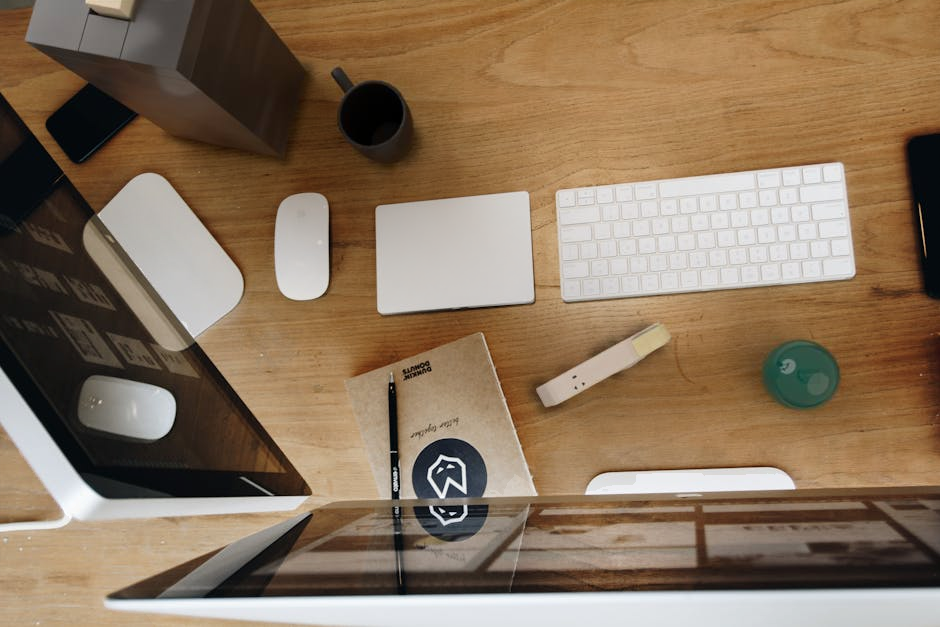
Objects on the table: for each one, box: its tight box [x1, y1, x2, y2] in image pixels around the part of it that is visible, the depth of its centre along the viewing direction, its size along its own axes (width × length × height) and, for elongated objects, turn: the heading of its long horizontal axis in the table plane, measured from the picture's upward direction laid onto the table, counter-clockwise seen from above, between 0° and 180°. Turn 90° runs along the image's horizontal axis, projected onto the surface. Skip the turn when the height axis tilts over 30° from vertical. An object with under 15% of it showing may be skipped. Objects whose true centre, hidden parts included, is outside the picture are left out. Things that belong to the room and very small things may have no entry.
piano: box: [24, 0, 307, 159], centre depth 79 cm, size 16×12×26 cm
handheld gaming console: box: [535, 322, 672, 408], centre depth 79 cm, size 11×3×15 cm
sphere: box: [760, 338, 842, 413], centre depth 76 cm, size 8×8×8 cm
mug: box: [330, 66, 415, 164], centre depth 84 cm, size 8×12×10 cm
